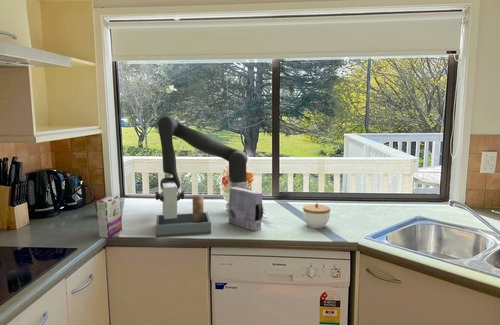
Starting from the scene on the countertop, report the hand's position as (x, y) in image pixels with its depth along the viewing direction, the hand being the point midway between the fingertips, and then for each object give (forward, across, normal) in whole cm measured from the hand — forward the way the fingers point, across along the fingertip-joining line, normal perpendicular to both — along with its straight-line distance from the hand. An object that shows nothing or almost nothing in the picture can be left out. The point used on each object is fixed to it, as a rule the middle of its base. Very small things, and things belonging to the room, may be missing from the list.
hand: (169, 199), depth 162 cm
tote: (-2, +6, +15) cm, 16 cm away
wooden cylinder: (-2, +13, +14) cm, 19 cm away
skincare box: (-2, 0, +9) cm, 9 cm away
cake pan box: (0, +35, +15) cm, 38 cm away
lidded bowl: (+7, +68, +14) cm, 70 cm away
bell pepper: (-33, -34, +16) cm, 50 cm away
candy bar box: (-2, -26, +16) cm, 31 cm away
